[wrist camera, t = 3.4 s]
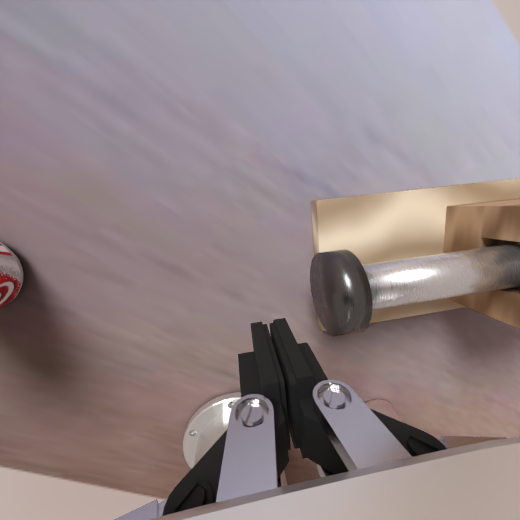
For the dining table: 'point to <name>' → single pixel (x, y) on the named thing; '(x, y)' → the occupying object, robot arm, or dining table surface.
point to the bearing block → (426, 235)
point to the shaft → (403, 282)
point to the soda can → (9, 275)
